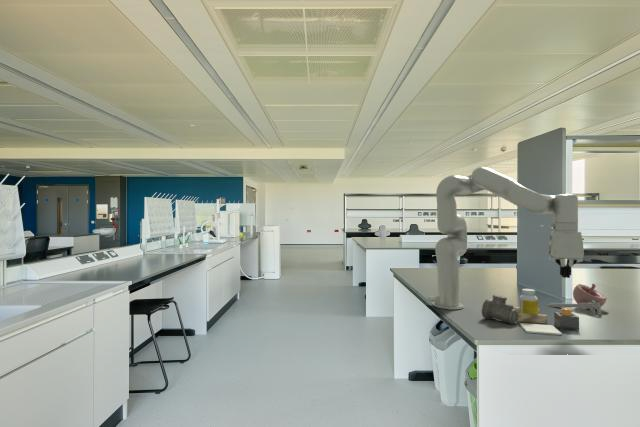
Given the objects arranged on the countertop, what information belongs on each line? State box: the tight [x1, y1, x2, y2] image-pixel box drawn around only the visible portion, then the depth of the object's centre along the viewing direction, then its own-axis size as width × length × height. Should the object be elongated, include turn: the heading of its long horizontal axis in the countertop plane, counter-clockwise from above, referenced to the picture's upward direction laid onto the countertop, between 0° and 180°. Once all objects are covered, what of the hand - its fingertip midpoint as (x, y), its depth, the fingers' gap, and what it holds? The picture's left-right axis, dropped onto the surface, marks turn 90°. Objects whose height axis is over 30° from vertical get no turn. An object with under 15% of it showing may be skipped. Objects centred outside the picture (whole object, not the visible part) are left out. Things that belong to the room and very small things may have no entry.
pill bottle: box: [519, 288, 539, 314], centre depth 147 cm, size 6×6×12 cm
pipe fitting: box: [481, 294, 518, 325], centre depth 143 cm, size 12×8×10 cm, turn 36°
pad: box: [519, 322, 563, 336], centre depth 132 cm, size 11×10×1 cm
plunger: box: [560, 307, 572, 316], centre depth 134 cm, size 3×3×5 cm
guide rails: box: [514, 306, 548, 324], centre depth 147 cm, size 10×11×3 cm
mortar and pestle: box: [572, 283, 607, 310], centre depth 162 cm, size 12×12×12 cm
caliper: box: [546, 300, 602, 316], centre depth 160 cm, size 21×1×6 cm, turn 32°
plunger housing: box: [553, 311, 580, 332], centre depth 134 cm, size 6×6×5 cm
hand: (565, 277), depth 135 cm, fingers closed
